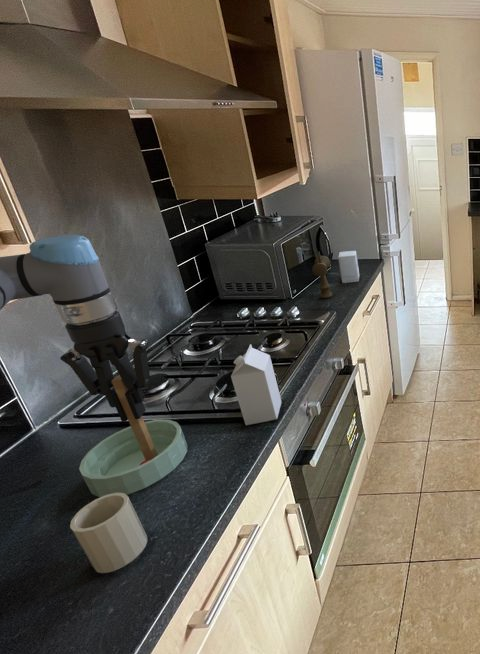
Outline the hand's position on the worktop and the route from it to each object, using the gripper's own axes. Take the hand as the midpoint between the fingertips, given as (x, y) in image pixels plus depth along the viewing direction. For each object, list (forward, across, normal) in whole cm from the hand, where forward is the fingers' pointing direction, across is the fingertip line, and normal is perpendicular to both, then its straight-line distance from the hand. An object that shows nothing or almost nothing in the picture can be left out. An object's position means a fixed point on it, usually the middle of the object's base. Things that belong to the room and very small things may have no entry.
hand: (134, 415), depth 87 cm
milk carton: (+14, +20, +11) cm, 27 cm away
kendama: (+14, +29, +82) cm, 88 cm away
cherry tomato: (+12, 0, -3) cm, 12 cm away
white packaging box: (+14, +38, +98) cm, 106 cm away
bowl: (+14, -2, 0) cm, 14 cm away
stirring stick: (+12, 0, 0) cm, 12 cm away
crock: (+14, +3, -22) cm, 26 cm away
